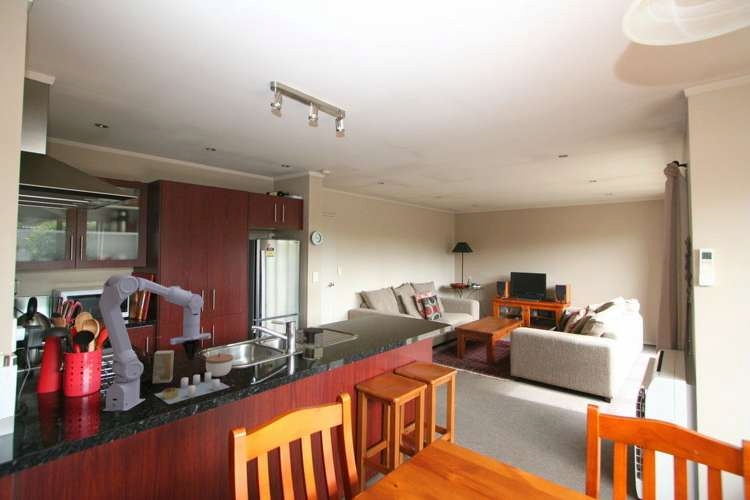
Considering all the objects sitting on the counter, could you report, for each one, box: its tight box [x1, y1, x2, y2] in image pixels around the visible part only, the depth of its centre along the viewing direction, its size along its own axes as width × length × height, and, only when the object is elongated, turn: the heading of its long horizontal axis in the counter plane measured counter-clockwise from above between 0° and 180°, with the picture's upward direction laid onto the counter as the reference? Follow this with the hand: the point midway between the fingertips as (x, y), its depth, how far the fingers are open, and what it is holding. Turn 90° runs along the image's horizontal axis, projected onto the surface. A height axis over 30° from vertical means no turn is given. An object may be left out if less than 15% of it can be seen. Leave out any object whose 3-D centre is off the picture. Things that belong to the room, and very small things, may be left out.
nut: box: [161, 387, 178, 400], centre depth 129 cm, size 4×5×2 cm
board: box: [154, 371, 230, 405], centre depth 136 cm, size 22×13×4 cm, turn 141°
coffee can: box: [302, 327, 324, 361], centre depth 185 cm, size 10×10×14 cm
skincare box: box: [152, 350, 175, 384], centre depth 145 cm, size 6×4×12 cm
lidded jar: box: [205, 352, 234, 378], centre depth 155 cm, size 11×11×9 cm
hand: (190, 359), depth 141 cm, fingers closed
